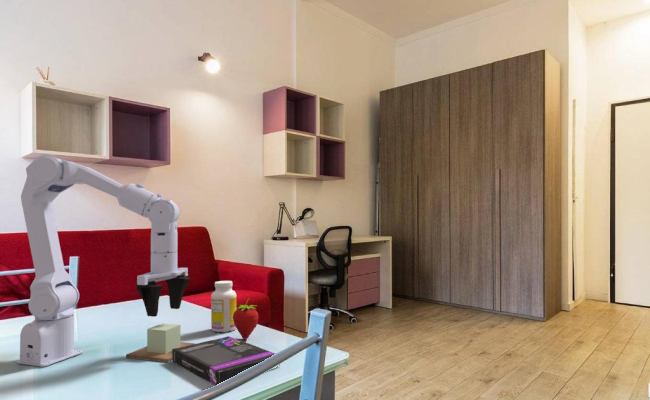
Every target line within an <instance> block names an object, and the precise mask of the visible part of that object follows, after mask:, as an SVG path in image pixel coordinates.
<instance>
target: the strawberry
mask: <svg viewBox="0 0 650 400" xmlns="http://www.w3.org/2000/svg"><path fill="white" fill-rule="evenodd" d="M249 299H250V298H249V297H248V299H247V300H246V303H245V304H239V306H236V311H235V312H234V314H233V321H234V324H235V326H236V330H237V332H238V333H239V334H240V336H241V337H242V339H243V340H247V339H249V337H250V335H251V334H252V333H253V332H254V330H255V329H256V326H257V325H258V321H259V312H257V308H256V307H258V305H254V304H250V305H248V301H249Z"/></svg>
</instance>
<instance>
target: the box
mask: <svg viewBox="0 0 650 400" xmlns="http://www.w3.org/2000/svg"><path fill="white" fill-rule="evenodd" d="M274 354H276V353H275V352H273V351H270V350H266V349H264V348H261V347H259V346H256V345H253V344H252V343H251V344H250V343H248V342H245V341H243V340H239V339H238V338H234V337H232V336H225V337H220V338H216V339H211V340H207V341H202V342H198V343H194V344H193V345H189V346H185V347H180V348H174V349H172V361H171V362H173V363H174V364H175V365H177V366H179V367H181V368H183V369H185V371H188V372H190V373H192V374H194V375H195V376H197V377H199V378H201V379H203V380H204V381H206V382H208V383H210V384H212V385H213V386H215V385H217V384H219V383H221V382H223V381H225V380H227V379H229V378H231V377H233V376H235V375H237V374H238V373H240V372H242V371H244V370H246V369H248V368H250V367H252V366H254V365H256V364H258V363H260V362H262V361H264V360H265V359H267V358H269V357H271V356H272V355H274ZM277 367H278V366H277ZM277 367H276V369H278V368H277ZM276 369H275V368H274V369H272V370H276ZM272 370H271V371H272Z"/></svg>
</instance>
